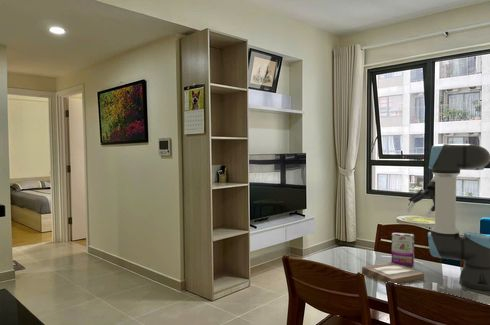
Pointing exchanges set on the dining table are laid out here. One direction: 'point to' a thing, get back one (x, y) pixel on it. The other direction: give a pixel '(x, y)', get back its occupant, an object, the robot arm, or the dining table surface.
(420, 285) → the dining table surface
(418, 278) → the walnut plinth
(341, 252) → the dining table surface
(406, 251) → the candy bar box
